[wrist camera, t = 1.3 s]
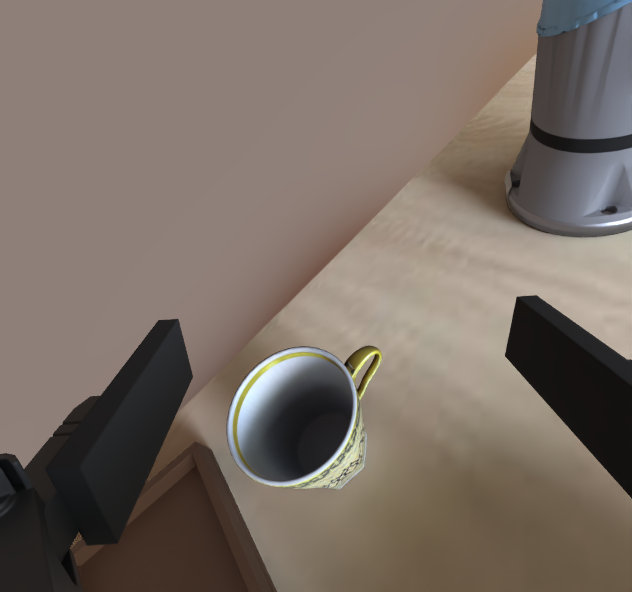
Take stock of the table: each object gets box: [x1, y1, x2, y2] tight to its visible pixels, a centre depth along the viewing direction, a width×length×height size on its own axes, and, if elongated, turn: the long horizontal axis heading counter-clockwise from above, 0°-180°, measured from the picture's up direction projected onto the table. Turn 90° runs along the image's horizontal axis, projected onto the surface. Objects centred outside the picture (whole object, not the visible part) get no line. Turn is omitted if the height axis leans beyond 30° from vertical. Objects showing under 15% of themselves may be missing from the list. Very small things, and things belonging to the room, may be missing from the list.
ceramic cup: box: [227, 346, 382, 489], centre depth 29 cm, size 13×10×10 cm
